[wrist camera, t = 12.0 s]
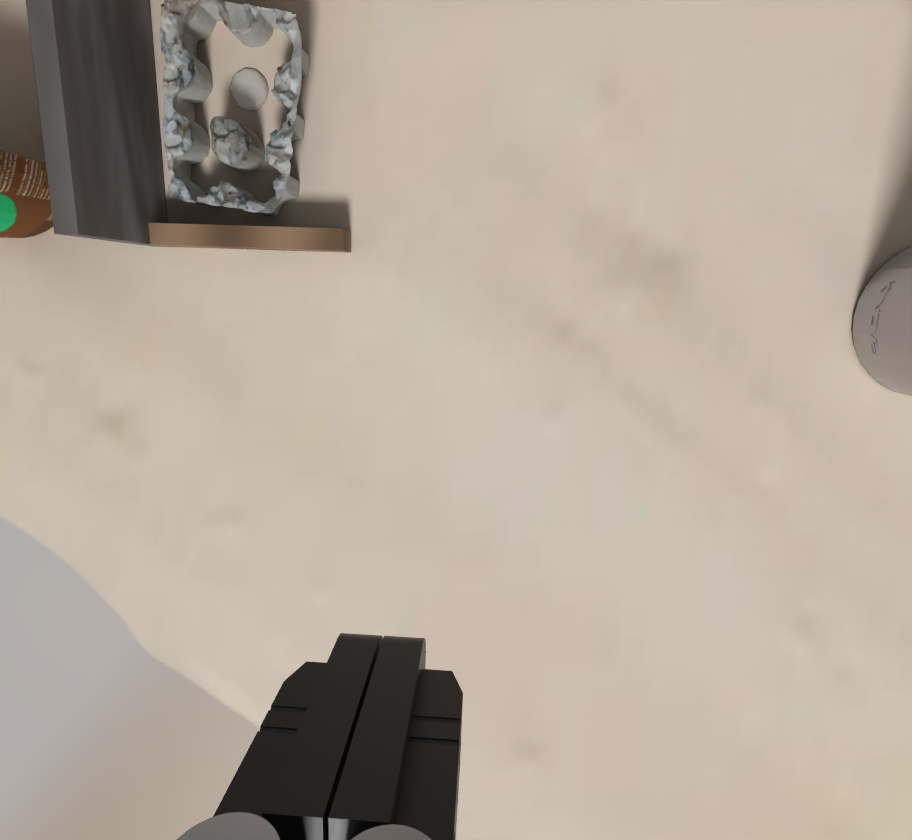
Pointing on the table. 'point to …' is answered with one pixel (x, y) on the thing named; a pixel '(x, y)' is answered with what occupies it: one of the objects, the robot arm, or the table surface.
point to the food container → (23, 197)
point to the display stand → (120, 134)
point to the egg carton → (189, 81)
